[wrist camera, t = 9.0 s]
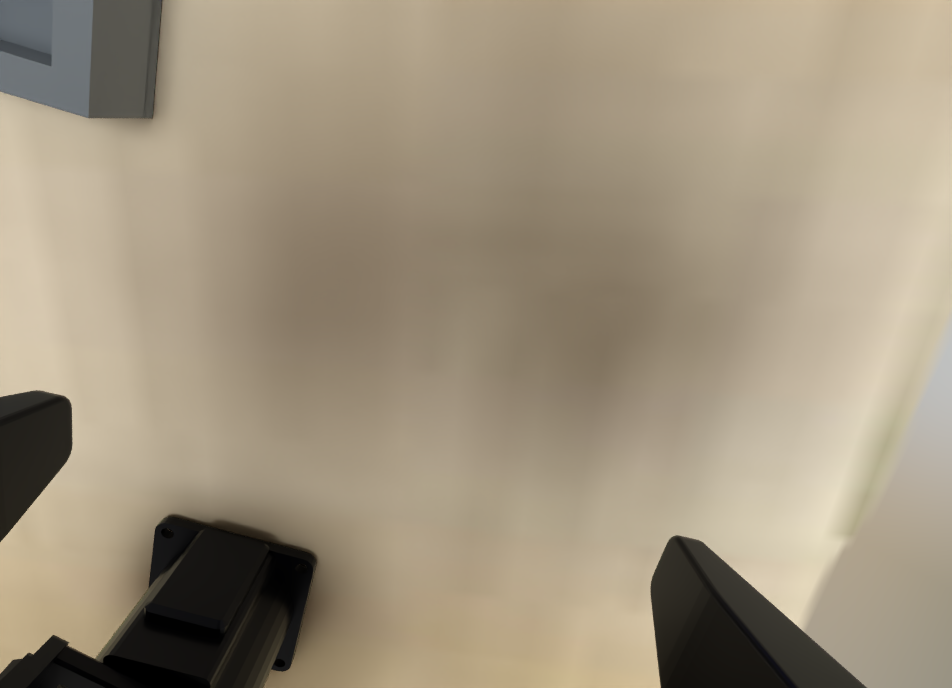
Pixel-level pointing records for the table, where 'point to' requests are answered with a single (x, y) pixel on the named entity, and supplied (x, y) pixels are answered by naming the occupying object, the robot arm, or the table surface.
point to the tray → (81, 54)
